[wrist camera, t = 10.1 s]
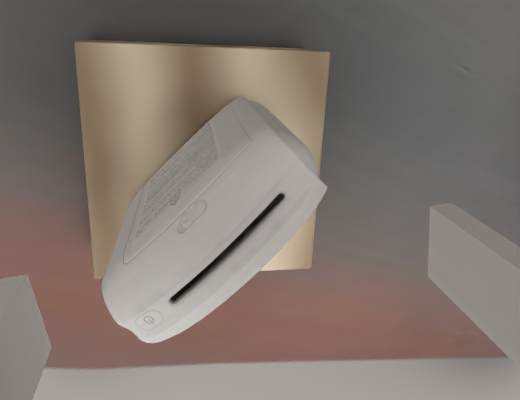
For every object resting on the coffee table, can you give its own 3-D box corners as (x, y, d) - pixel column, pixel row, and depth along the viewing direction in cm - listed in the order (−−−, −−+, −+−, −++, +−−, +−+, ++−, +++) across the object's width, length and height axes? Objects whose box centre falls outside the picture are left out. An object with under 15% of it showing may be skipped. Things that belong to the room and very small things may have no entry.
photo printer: (171, 250, 29) (162, 389, 18) (118, 205, 28) (69, 324, 16) (291, 135, 28) (367, 203, 16) (242, 82, 26) (287, 114, 15)
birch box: (302, 48, 32) (330, 51, 27) (289, 232, 37) (311, 268, 32) (91, 39, 30) (74, 41, 24) (106, 239, 34) (94, 279, 29)
